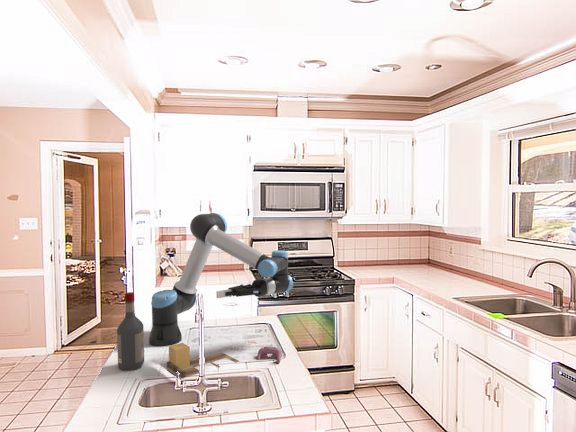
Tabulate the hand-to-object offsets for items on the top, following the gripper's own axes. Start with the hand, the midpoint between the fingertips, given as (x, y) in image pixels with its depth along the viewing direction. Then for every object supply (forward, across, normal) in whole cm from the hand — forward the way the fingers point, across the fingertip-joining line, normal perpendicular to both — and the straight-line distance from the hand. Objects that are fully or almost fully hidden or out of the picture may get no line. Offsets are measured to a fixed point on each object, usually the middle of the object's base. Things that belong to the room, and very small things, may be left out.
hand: (217, 294), depth 184 cm
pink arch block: (-15, -15, -28) cm, 35 cm away
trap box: (+8, -4, -28) cm, 29 cm away
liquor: (+30, +17, -28) cm, 45 cm away
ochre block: (+17, +1, -26) cm, 31 cm away
